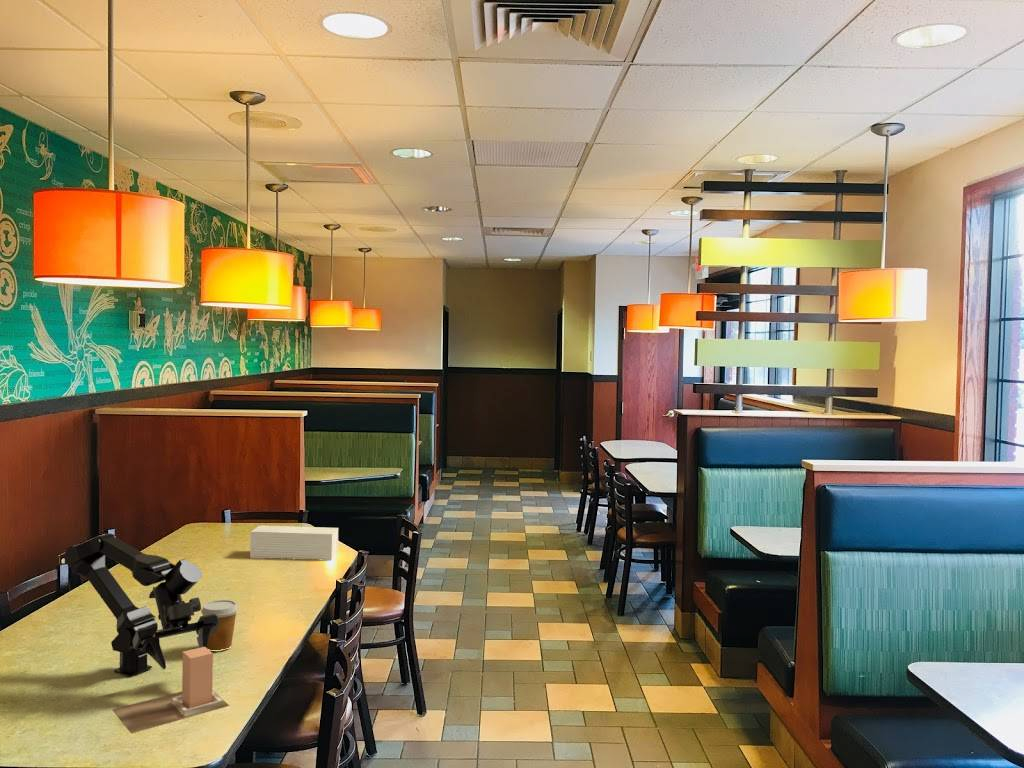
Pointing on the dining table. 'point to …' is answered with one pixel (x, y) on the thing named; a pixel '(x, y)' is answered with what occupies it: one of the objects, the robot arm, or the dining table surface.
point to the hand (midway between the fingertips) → (185, 663)
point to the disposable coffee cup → (221, 623)
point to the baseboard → (162, 711)
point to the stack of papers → (294, 542)
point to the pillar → (197, 677)
